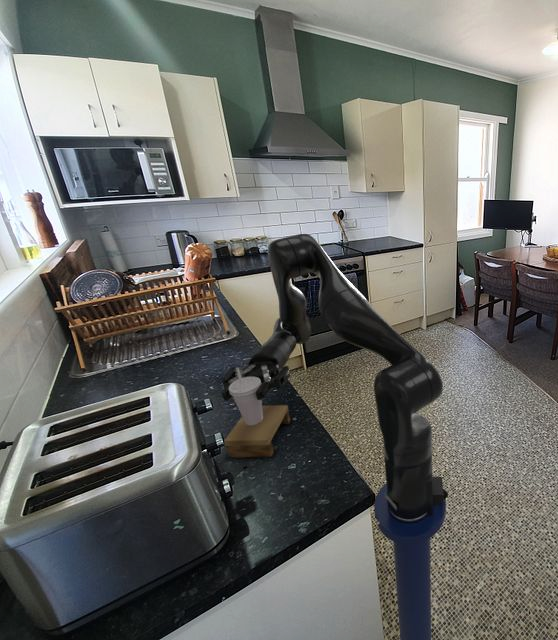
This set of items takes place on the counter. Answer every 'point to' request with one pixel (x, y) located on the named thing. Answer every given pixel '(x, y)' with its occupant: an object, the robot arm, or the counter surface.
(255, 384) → the smoothie
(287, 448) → the counter surface
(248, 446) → the bench
